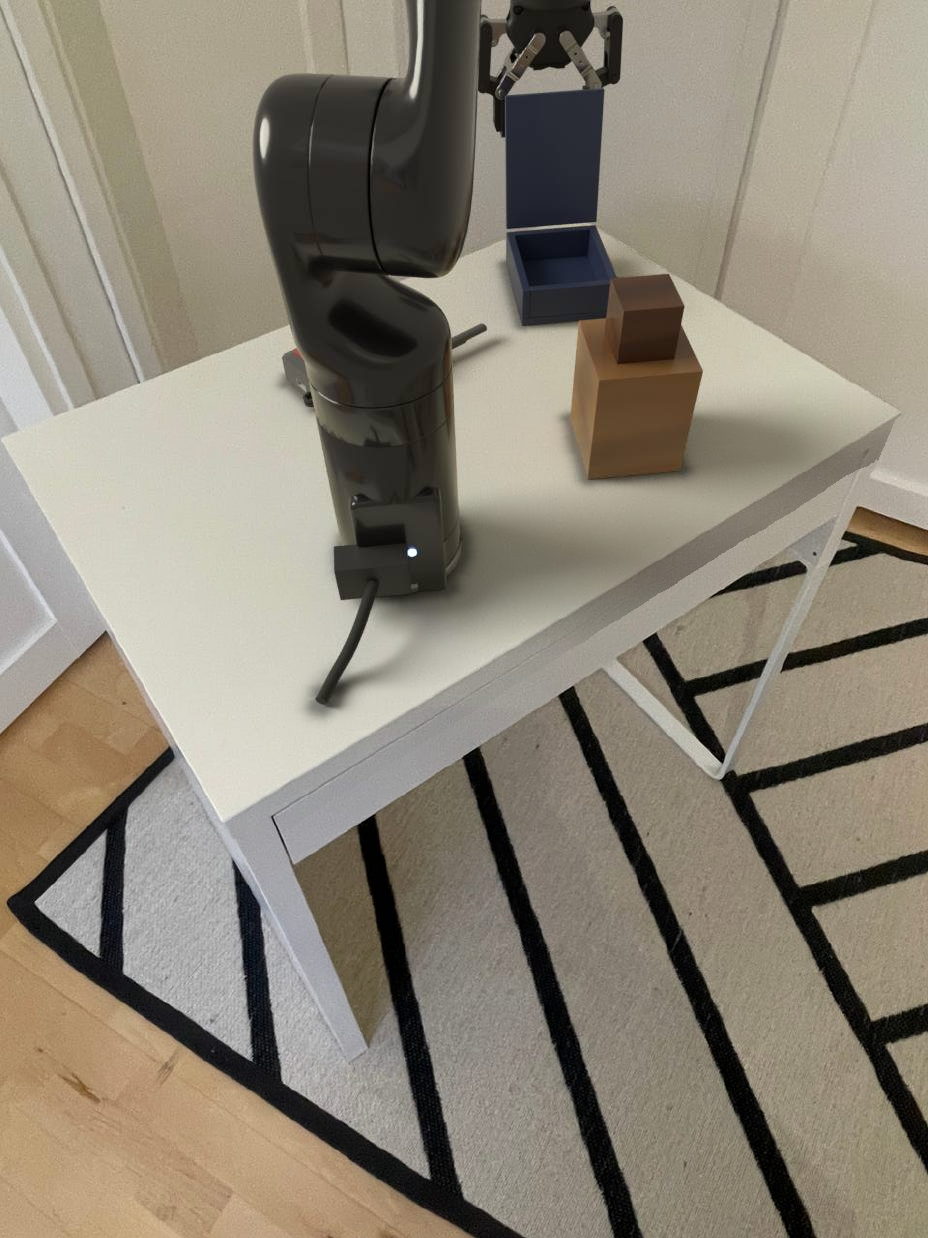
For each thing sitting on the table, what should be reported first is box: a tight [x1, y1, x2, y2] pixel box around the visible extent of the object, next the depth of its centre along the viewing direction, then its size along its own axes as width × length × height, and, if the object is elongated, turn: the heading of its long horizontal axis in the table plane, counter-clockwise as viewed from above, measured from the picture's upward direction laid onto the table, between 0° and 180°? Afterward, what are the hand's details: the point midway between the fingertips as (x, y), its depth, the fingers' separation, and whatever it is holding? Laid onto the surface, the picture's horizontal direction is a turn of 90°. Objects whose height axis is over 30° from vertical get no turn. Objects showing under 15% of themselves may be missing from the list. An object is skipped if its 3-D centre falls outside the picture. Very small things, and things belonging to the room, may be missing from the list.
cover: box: [504, 87, 606, 230], centre depth 88 cm, size 12×10×5 cm
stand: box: [569, 318, 704, 480], centre depth 71 cm, size 8×8×10 cm
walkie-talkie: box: [281, 323, 488, 408], centre depth 81 cm, size 9×4×20 cm
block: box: [605, 273, 685, 364], centre depth 65 cm, size 4×4×4 cm
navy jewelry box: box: [505, 224, 618, 326], centre depth 89 cm, size 12×10×4 cm
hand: (544, 131), depth 89 cm, fingers open, 8 cm apart
